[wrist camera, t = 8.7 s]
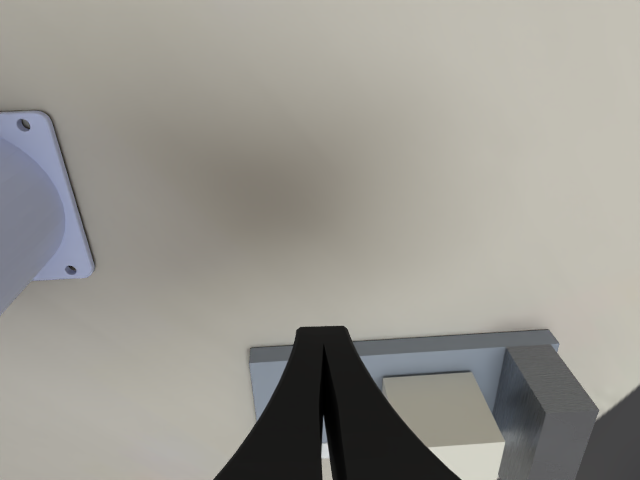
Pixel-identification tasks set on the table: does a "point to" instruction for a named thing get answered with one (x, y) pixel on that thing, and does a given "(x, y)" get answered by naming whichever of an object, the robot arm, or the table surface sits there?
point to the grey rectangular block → (541, 415)
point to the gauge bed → (408, 361)
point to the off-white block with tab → (450, 421)
